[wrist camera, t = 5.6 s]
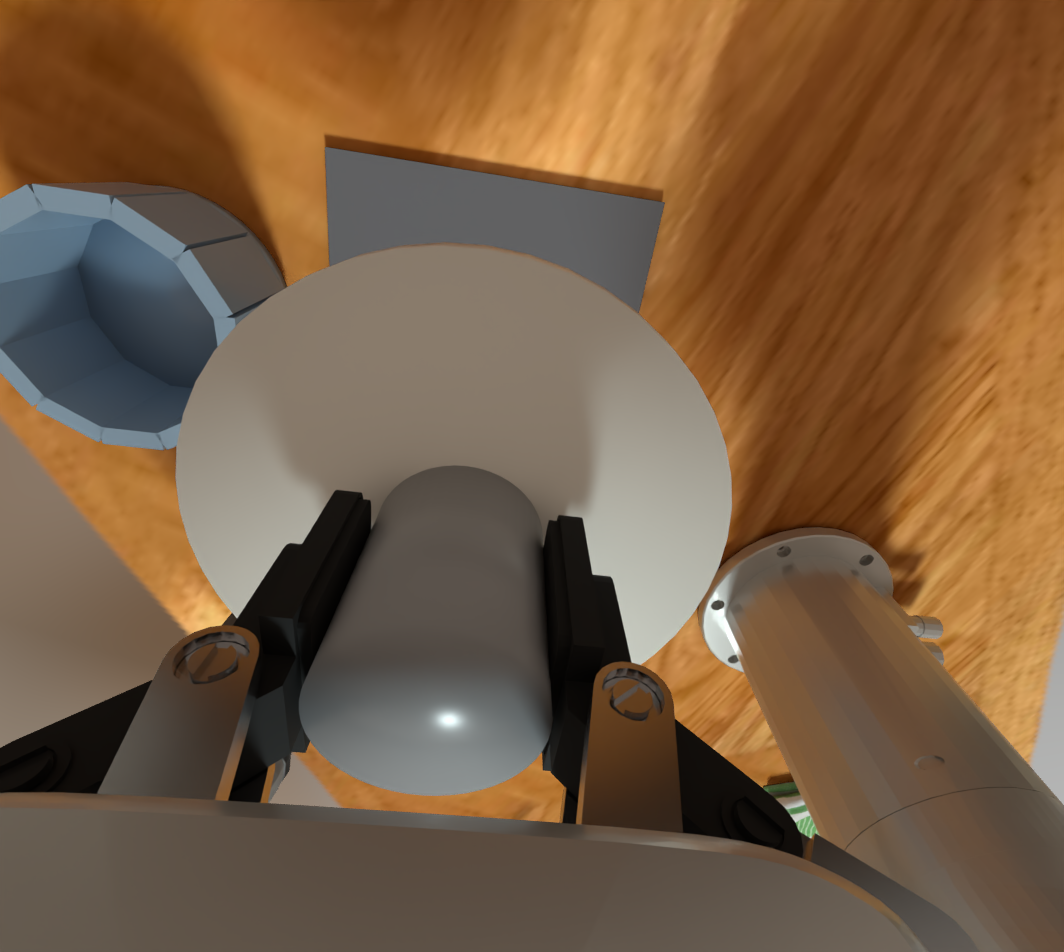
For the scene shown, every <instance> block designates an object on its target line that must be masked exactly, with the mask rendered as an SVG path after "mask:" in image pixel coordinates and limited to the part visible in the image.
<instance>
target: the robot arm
mask: <svg viewBox="0 0 1064 952" xmlns="http://www.w3.org/2000/svg"><path fill="white" fill-rule="evenodd" d="M370 531H371V501H370V500H367V499H363V495H362V493H361V492H352V491H344V490H335V491H334V493H333V494H332V496H331V497H330V499H329V501H328V502H327V504H326V506H325V507H324V509H323V511H322V512H321V514H320V515H319V517H318V519H317V520H316V522H315V524H314V525H313V527H312V528H311V530H310V532H309V533H308V535H307V537H306V538H305V540H304V542H303V543H302V544H296V543H289V544H287V545H286V546H285V547H284V548H283V550H282V551H281V553H280V554H279V556H278V557H277V559H276V560H275V562H274V563H273V565H272V566H271V568H270V569H269V571H268V572H267V574H266V575H265V577H264V578H263V580H262V581H261V583H260V585H259V586H258V588H257V589H256V591H255V592H254V594H253V595H252V597H251V598H250V600H249V601H248V603H247V604H246V606H245V607H244V609H243V610H242V612H241V613H240V615H239V616H238V618H237V620H236V621H235V623H234V624H233V626H228V625H222V626H215V627H209V628H206V629H203V630H200V631H197V632H194V633H192V634H190V635H189V636H187V637H185V638H183V639H182V640H180V641H179V642H178V643H177V644H175V645H174V646H173V647H172V648H171V649H170V650H169V651H168V653H167V654H166V656H165V657H164V659H163V660H162V662H161V665H160V666H159V668H158V670H157V672H156V674H155V677H154V679H153V680H151V681H149V682H146V683H144V684H142V685H140V686H137V687H135V688H133V689H131V690H128V691H126V692H124V693H121V694H119V695H117V696H115V697H112V698H110V699H108V700H106V701H104V702H101V703H99V704H96V705H94V706H92V707H90V708H88V709H85V710H83V711H81V712H78V713H76V714H74V715H71V716H69V717H67V718H65V719H62V720H60V721H58V722H56V723H53V724H51V725H49V726H46V727H44V728H42V729H40V730H37V731H35V732H33V733H31V734H28V735H26V736H24V737H22V738H19V739H17V740H15V741H13V742H11V743H9V744H7V745H5V746H3V747H1V748H0V952H1064V805H1063V804H1062V803H1061V801H1060V800H1059V799H1058V798H1057V797H1056V796H1055V795H1054V793H1053V792H1052V791H1051V790H1050V789H1049V788H1048V786H1047V785H1046V784H1045V783H1044V782H1043V781H1042V780H1041V778H1040V777H1039V776H1038V775H1037V774H1036V773H1035V772H1034V770H1033V769H1032V768H1031V767H1030V766H1029V765H1028V764H1027V762H1026V761H1025V760H1024V759H1023V758H1022V757H1021V755H1020V754H1019V753H1018V752H1017V751H1016V750H1015V749H1014V747H1013V746H1012V745H1011V744H1010V743H1009V742H1008V741H1007V739H1006V738H1005V737H1004V736H1003V735H1002V734H1001V732H1000V731H999V730H998V729H997V728H996V727H995V726H994V724H993V723H992V722H991V721H990V720H989V719H988V718H987V716H986V715H985V714H984V713H983V712H982V711H981V709H980V708H979V707H978V706H977V705H976V704H975V703H974V701H973V700H972V699H971V698H970V697H969V696H968V695H967V693H966V692H965V691H964V690H963V689H962V688H961V686H960V685H959V684H958V683H957V682H956V681H955V680H954V678H953V677H952V676H951V675H950V674H949V673H948V672H947V670H946V669H945V668H944V667H943V663H944V657H943V653H942V651H941V649H940V648H939V646H937V645H936V644H935V643H933V642H923V641H921V640H920V639H919V638H918V637H921V638H933V639H938V638H939V637H941V636H942V633H943V626H942V624H941V622H940V620H939V619H937V618H935V617H927V616H909V615H908V614H907V613H906V612H905V611H904V610H903V609H902V607H901V606H900V605H899V604H898V603H897V602H896V601H895V600H894V599H893V597H892V595H893V578H892V574H891V572H890V569H889V567H888V564H887V563H886V562H885V560H884V559H883V558H882V557H881V555H880V554H879V553H878V552H877V551H876V550H875V549H874V548H873V547H872V546H871V545H870V544H868V543H867V542H866V541H865V540H863V539H861V538H859V537H858V536H856V535H854V534H852V533H848V532H845V531H842V530H838V529H832V528H822V527H812V528H798V529H794V530H789V531H784V532H780V533H777V534H774V535H771V536H768V537H766V538H763V539H761V540H759V541H757V542H755V543H753V544H751V545H749V546H747V547H745V548H744V549H742V550H741V551H739V552H738V553H737V554H735V555H734V556H732V557H731V558H730V559H728V560H727V561H726V562H725V563H724V564H723V565H722V566H721V567H720V568H719V569H718V570H717V572H716V574H715V576H714V578H713V580H712V582H711V585H710V587H709V589H708V591H707V593H706V594H705V596H704V597H703V599H702V600H701V602H700V604H699V609H698V620H699V626H700V629H701V632H702V635H703V638H704V640H705V642H706V644H707V646H708V648H709V650H710V651H711V652H712V653H713V654H714V655H715V657H716V658H717V659H719V660H720V661H721V662H723V663H724V664H725V665H727V666H729V667H731V668H734V669H736V670H738V671H741V672H744V673H745V675H746V677H747V679H748V682H749V684H750V686H751V688H752V690H753V692H754V695H755V697H756V699H757V701H758V703H759V705H760V708H761V710H762V712H763V714H764V716H765V718H766V721H767V723H768V725H769V727H770V729H771V732H772V734H773V736H774V738H775V740H776V742H777V745H778V747H779V749H780V751H781V753H782V755H783V758H784V760H785V762H786V764H787V766H788V769H789V771H790V773H791V775H792V777H793V779H794V782H795V784H796V786H797V788H798V790H799V792H800V795H801V797H802V799H803V801H804V803H805V805H806V808H807V810H808V812H809V814H810V816H811V819H812V821H813V823H814V825H815V827H816V829H817V832H818V834H819V835H818V834H816V833H814V835H813V836H812V838H809V837H808V836H806V835H804V834H803V833H801V832H800V831H799V830H798V828H797V825H796V823H795V821H794V820H793V818H792V817H791V815H790V814H789V813H788V811H787V810H786V808H785V807H784V806H783V805H782V804H780V803H779V802H778V801H777V800H776V799H775V798H774V797H773V796H772V795H771V794H769V793H768V792H767V791H766V790H764V789H763V788H762V787H761V786H759V785H758V784H757V783H755V782H754V781H753V780H752V779H750V778H749V777H748V776H747V775H745V774H744V773H743V772H742V771H740V770H739V769H738V768H736V767H735V766H734V765H733V764H731V763H730V762H729V761H728V760H726V759H725V758H724V757H723V756H721V755H720V754H719V753H717V752H716V751H715V750H714V749H712V748H711V747H710V746H709V745H707V744H706V743H705V742H704V741H702V740H701V739H700V738H698V737H697V736H696V735H695V734H693V733H692V732H691V731H690V730H688V729H687V728H686V727H685V726H683V725H682V724H681V723H680V722H678V721H677V720H676V719H675V716H674V703H673V699H672V695H671V692H670V690H669V689H668V687H667V685H666V684H665V682H664V681H663V680H662V679H661V678H660V677H659V676H658V675H657V674H656V673H654V672H652V671H651V670H649V669H648V668H646V667H644V666H641V665H638V664H635V663H632V662H631V657H630V653H629V649H628V644H627V640H626V635H625V631H624V626H623V622H622V617H621V613H620V609H619V604H618V600H617V595H616V591H615V586H614V582H613V579H612V578H611V577H610V576H602V575H593V574H592V568H591V563H590V557H589V551H588V546H587V540H586V534H585V529H584V523H583V519H582V518H581V517H573V516H564V515H558V518H557V521H554V520H549V522H548V526H547V531H546V536H545V541H544V547H543V554H544V572H545V591H546V609H547V627H548V646H549V664H550V683H551V699H552V717H553V722H552V729H551V733H550V736H549V739H548V742H547V743H546V745H545V747H544V749H543V751H542V760H543V770H545V771H551V773H552V774H553V775H554V776H555V777H556V778H557V779H558V780H559V781H560V782H561V783H562V784H563V785H564V789H563V796H562V804H561V813H560V821H559V823H553V822H539V821H526V820H512V819H498V818H484V817H470V816H455V815H440V814H425V813H410V812H395V811H380V810H365V809H350V808H334V807H319V806H304V805H287V804H286V805H285V804H271V803H268V799H269V795H270V790H271V786H272V781H273V776H274V772H275V763H276V762H277V761H279V760H281V759H282V758H284V757H286V756H287V755H289V754H290V753H291V752H302V753H306V750H307V747H308V745H309V742H310V740H309V738H308V737H307V735H306V733H305V731H304V729H303V726H302V724H301V720H300V715H299V697H300V692H301V689H302V686H303V684H304V682H305V679H306V677H307V675H308V672H309V670H310V668H311V666H312V663H313V661H314V659H315V656H316V654H317V652H318V650H319V647H320V645H321V643H322V641H323V638H324V636H325V634H326V631H327V629H328V627H329V625H330V622H331V620H332V618H333V615H334V613H335V611H336V609H337V606H338V604H339V602H340V600H341V597H342V595H343V593H344V590H345V588H346V586H347V584H348V581H349V579H350V577H351V575H352V572H353V570H354V568H355V565H356V563H357V561H358V559H359V556H360V554H361V552H362V550H363V547H364V545H365V543H366V540H367V538H368V536H369V534H370Z"/></svg>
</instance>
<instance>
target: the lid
mask: <svg viewBox="0 0 1064 952" xmlns="http://www.w3.org/2000/svg"><path fill="white" fill-rule="evenodd" d="M176 486H177V493H178V501H179V508H180V513H181V516H182V520H183V523H184V527H185V530H186V534H187V537H188V540H189V543H190V545H191V547H192V549H193V551H194V554H195V556H196V558H197V560H198V562H199V565H200V567H201V569H202V571H203V572H204V574H205V575H206V577H207V579H208V580H209V582H210V583H211V585H212V587H213V588H214V590H215V591H216V593H217V595H218V596H219V597H220V598H221V599H222V601H223V602H224V603H225V604H226V606H227V607H228V608H229V609H230V611H231V612H232V613H233V614H234V616H235V617H236V618H238V616H239V615H240V613H241V612H242V610H243V609H244V607H245V606H246V604H247V603H248V601H249V600H250V598H251V597H252V595H253V594H254V592H255V591H256V589H257V588H258V586H259V585H260V583H261V581H262V580H263V578H264V577H265V575H266V574H267V572H268V571H269V569H270V568H271V566H272V565H273V563H274V562H275V560H276V559H277V557H278V556H279V554H280V553H281V551H282V550H283V548H284V547H285V546H286V545H287V544H289V543H296V544H302V543H303V542H304V540H305V538H306V537H307V535H308V533H309V532H310V530H311V528H312V527H313V525H314V524H315V522H316V520H317V519H318V517H319V515H320V514H321V512H322V511H323V509H324V507H325V506H326V504H327V502H328V501H329V499H330V497H331V496H332V494H333V493H334V491H335V490H344V491H352V492H361V493H362V495H363V499H367V500H370V501H371V531H370V534H369V536H368V538H367V540H366V543H365V545H364V547H363V550H362V552H361V554H360V556H359V559H358V561H357V563H356V565H355V568H354V570H353V572H352V575H351V577H350V579H349V581H348V584H347V586H346V588H345V590H344V593H343V595H342V597H341V600H340V602H339V604H338V606H337V609H336V611H335V613H334V615H333V618H332V620H331V622H330V625H329V627H328V629H327V631H326V634H325V636H324V638H323V641H322V643H321V645H320V647H319V650H318V652H317V654H316V656H315V659H314V661H313V663H312V666H311V668H310V670H309V672H308V675H307V677H306V679H305V682H304V684H303V686H302V689H301V692H300V697H299V715H300V720H301V724H302V726H303V729H304V731H305V733H306V735H307V737H308V738H309V740H310V741H311V743H312V744H313V746H314V747H315V748H316V749H317V750H318V751H319V753H320V754H321V755H322V756H324V757H325V758H326V759H327V760H328V761H329V762H330V763H332V764H333V765H335V766H336V767H337V768H339V769H340V770H342V771H344V772H345V773H347V774H349V775H350V776H352V777H354V778H357V779H359V780H361V781H363V782H365V783H368V784H371V785H374V786H377V787H380V788H383V789H387V790H391V791H396V792H401V793H407V794H415V795H432V796H441V795H455V794H463V793H469V792H474V791H478V790H482V789H485V788H488V787H492V786H495V785H497V784H499V783H502V782H504V781H506V780H508V779H510V778H512V777H514V776H515V775H517V774H519V773H520V772H521V771H523V770H524V769H526V768H527V767H528V766H529V765H530V764H531V763H532V762H533V761H534V760H535V759H536V758H537V757H538V756H539V754H540V753H541V752H542V751H543V749H544V747H545V745H546V743H547V742H548V739H549V736H550V733H551V729H552V722H553V717H552V699H551V683H550V664H549V646H548V627H547V609H546V591H545V572H544V554H543V547H544V541H545V536H546V531H547V526H548V522H549V520H554V521H557V518H558V515H564V516H573V517H581V518H582V519H583V523H584V529H585V534H586V540H587V546H588V551H589V557H590V563H591V568H592V574H593V575H602V576H610V577H611V578H612V579H613V582H614V586H615V591H616V595H617V600H618V604H619V609H620V613H621V617H622V622H623V626H624V631H625V635H626V640H627V644H628V649H629V653H630V657H631V662H632V663H635V664H638V665H641V664H642V663H643V662H645V661H646V660H647V659H649V658H650V657H652V656H653V655H654V654H655V653H656V652H658V651H659V650H660V649H661V648H662V647H663V646H664V645H665V644H666V643H667V642H668V641H669V640H670V639H672V638H673V637H674V636H675V635H676V633H677V632H678V631H679V630H680V629H681V627H682V626H683V625H684V624H685V623H686V622H687V620H688V619H689V618H690V617H691V616H692V614H693V613H694V611H695V610H696V608H697V607H698V605H699V603H700V602H701V600H702V599H703V597H704V596H705V594H706V593H707V591H708V589H709V587H710V585H711V582H712V580H713V578H714V576H715V574H716V572H717V569H718V567H719V565H720V562H721V558H722V555H723V552H724V548H725V545H726V541H727V538H728V532H729V525H730V517H731V510H732V490H731V472H730V467H729V461H728V456H727V450H726V445H725V442H724V439H723V436H722V433H721V430H720V427H719V424H718V422H717V419H716V416H715V413H714V411H713V409H712V407H711V405H710V403H709V402H708V400H707V398H706V396H705V394H704V392H703V390H702V388H701V387H700V385H699V383H698V381H697V380H696V378H695V377H694V376H693V374H692V373H691V372H690V370H689V369H688V368H687V366H686V365H685V364H684V362H683V361H682V360H681V358H680V357H679V356H678V354H677V353H676V352H675V350H674V349H673V348H672V347H671V346H670V345H669V344H668V342H667V341H666V340H665V339H664V338H663V337H662V336H661V335H660V334H659V333H658V332H657V331H656V330H655V329H654V328H653V327H652V326H651V325H650V324H649V323H648V322H647V321H646V320H645V319H644V318H643V317H642V316H641V315H640V314H639V313H638V312H637V311H635V310H634V309H633V308H631V307H630V306H628V305H627V304H626V303H624V302H623V301H622V300H620V299H619V298H618V297H616V296H615V295H613V294H612V293H611V292H609V291H608V290H607V289H605V288H604V287H602V286H600V285H598V284H596V283H594V282H593V281H591V280H589V279H587V278H585V277H583V276H581V275H579V274H578V273H576V272H574V271H572V270H570V269H568V268H565V267H563V266H560V265H557V264H554V263H552V262H549V261H546V260H543V259H541V258H538V257H535V256H533V255H530V254H526V253H521V252H516V251H512V250H507V249H502V248H498V247H493V246H488V245H476V244H462V243H448V242H441V243H427V244H413V245H401V246H397V247H392V248H388V249H383V250H378V251H374V252H369V253H365V254H361V255H358V256H356V257H353V258H350V259H348V260H345V261H343V262H340V263H337V264H335V265H332V266H330V267H327V268H324V269H322V270H320V271H317V272H315V273H313V274H310V275H308V276H306V277H304V278H302V279H301V280H299V281H297V282H295V283H294V284H292V285H290V286H288V287H287V288H285V289H283V290H281V291H280V292H278V293H276V294H275V295H273V296H271V297H270V298H268V299H267V300H266V301H265V302H263V303H262V304H261V305H260V306H259V307H257V308H256V309H255V310H254V311H252V312H251V313H250V314H249V315H248V316H246V317H245V318H244V319H243V320H241V321H240V322H239V323H238V324H237V325H236V327H235V328H234V329H233V330H232V331H231V332H230V333H229V335H228V336H227V337H226V338H225V339H224V340H223V341H222V343H221V344H220V345H219V346H218V347H217V348H216V349H215V351H214V352H213V354H212V355H211V357H210V359H209V360H208V362H207V364H206V365H205V367H204V369H203V370H202V372H201V374H200V375H199V377H198V379H197V380H196V382H195V385H194V387H193V390H192V392H191V395H190V397H189V400H188V403H187V405H186V408H185V410H184V413H183V417H182V422H181V427H180V432H179V437H178V442H177V447H176Z"/></svg>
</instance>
